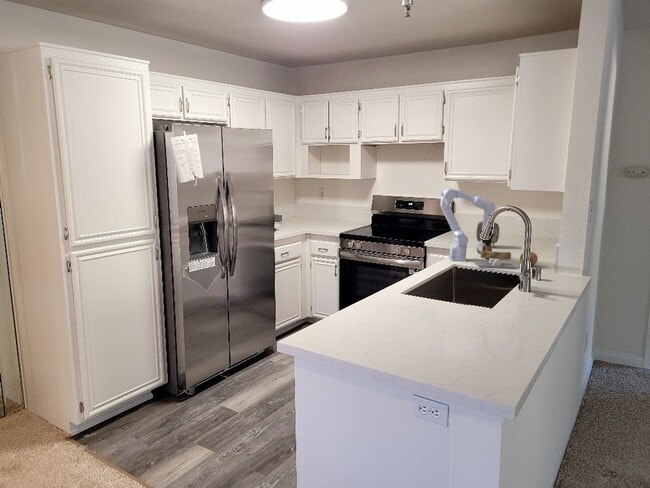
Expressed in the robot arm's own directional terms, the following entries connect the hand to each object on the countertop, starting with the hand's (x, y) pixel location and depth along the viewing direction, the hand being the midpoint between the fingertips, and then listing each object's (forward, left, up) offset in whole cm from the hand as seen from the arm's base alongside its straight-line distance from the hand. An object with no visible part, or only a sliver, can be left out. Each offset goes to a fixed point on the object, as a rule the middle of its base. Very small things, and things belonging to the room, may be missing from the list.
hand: (485, 244), depth 284 cm
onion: (+22, -11, -10) cm, 26 cm away
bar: (+2, -15, -5) cm, 16 cm away
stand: (+2, -15, -10) cm, 18 cm away
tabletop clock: (+13, +48, -10) cm, 51 cm away
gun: (+4, +15, -10) cm, 19 cm away
